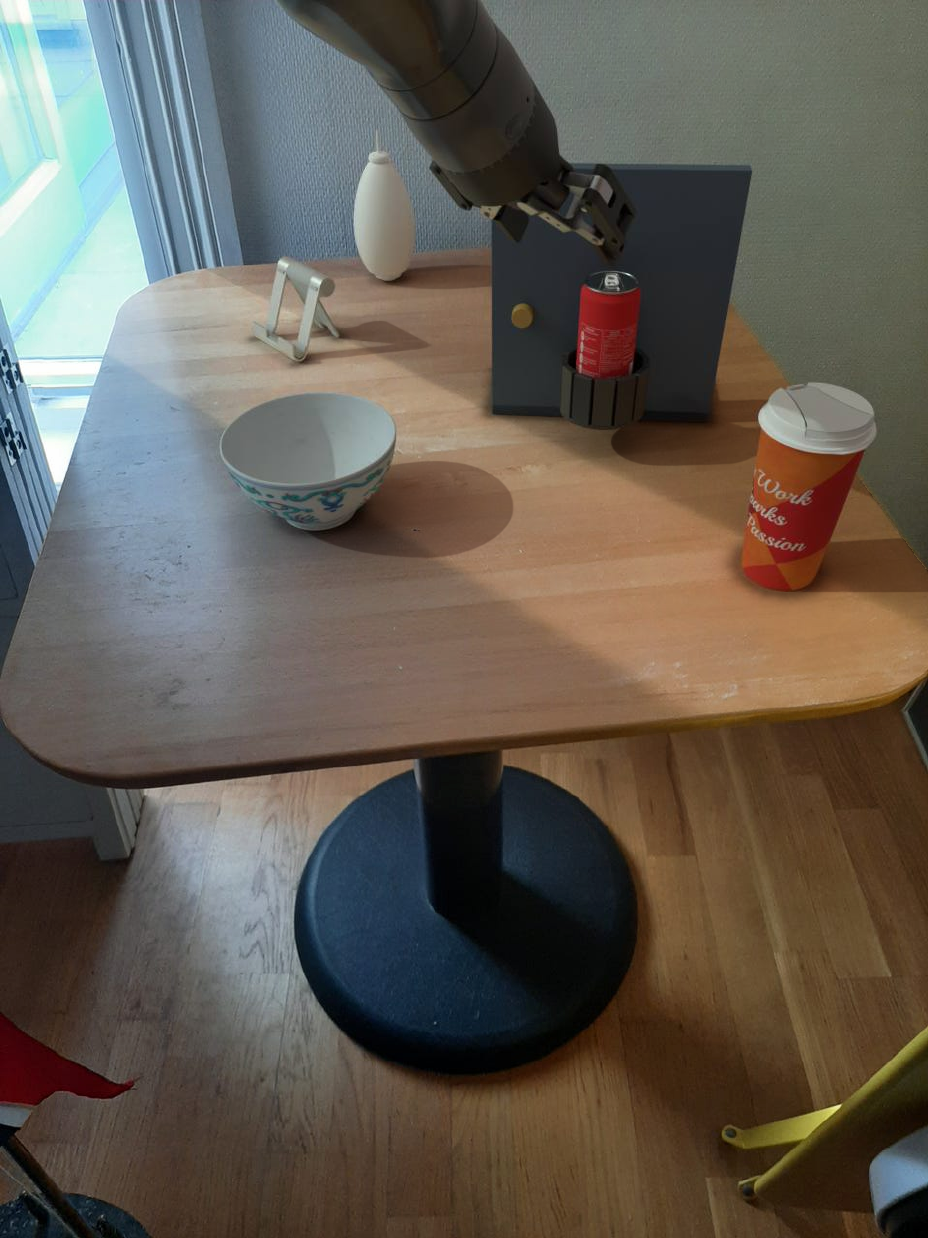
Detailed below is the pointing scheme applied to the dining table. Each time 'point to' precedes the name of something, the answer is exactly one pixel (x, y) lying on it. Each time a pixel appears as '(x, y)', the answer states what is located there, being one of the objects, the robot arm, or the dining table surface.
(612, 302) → the beverage can
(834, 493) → the coffee cup
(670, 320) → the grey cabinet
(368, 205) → the white air blower
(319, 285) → the tablet stand
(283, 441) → the chinaware
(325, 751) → the dining table surface
